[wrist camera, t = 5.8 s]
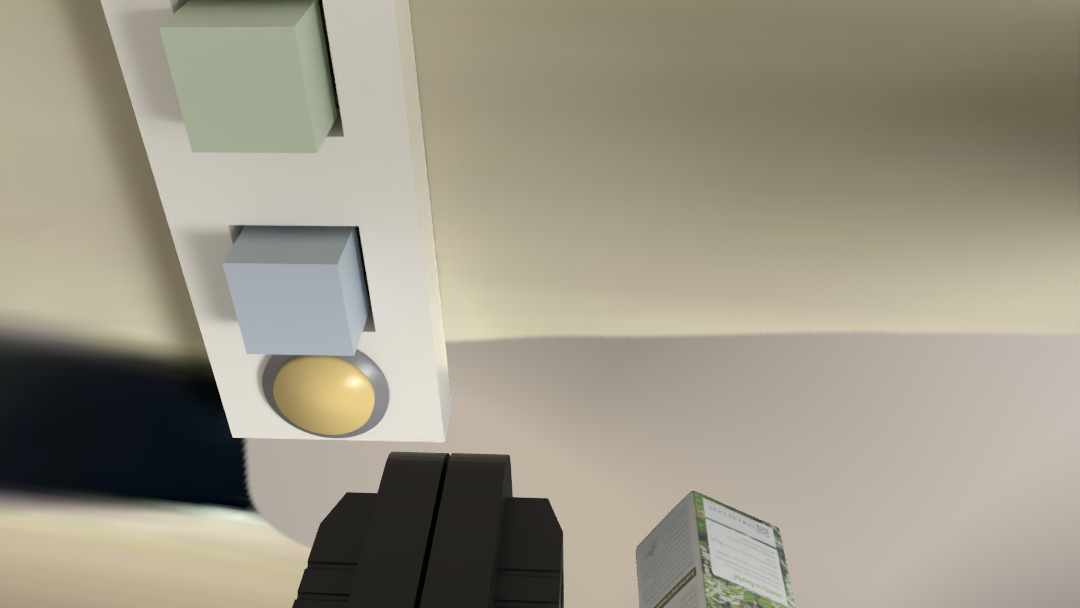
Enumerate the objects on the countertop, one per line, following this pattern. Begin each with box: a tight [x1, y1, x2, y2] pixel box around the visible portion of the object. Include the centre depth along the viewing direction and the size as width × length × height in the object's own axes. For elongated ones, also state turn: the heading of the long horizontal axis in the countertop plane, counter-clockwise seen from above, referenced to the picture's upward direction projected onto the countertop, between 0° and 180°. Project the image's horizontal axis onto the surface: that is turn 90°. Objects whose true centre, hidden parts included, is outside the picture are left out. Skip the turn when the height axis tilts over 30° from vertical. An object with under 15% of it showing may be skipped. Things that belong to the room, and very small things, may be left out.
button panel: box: [101, 0, 452, 442], centre depth 34 cm, size 10×32×3 cm, turn 1°
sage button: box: [159, 0, 337, 153], centre depth 32 cm, size 4×4×3 cm
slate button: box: [222, 225, 369, 356], centre depth 37 cm, size 4×4×3 cm
